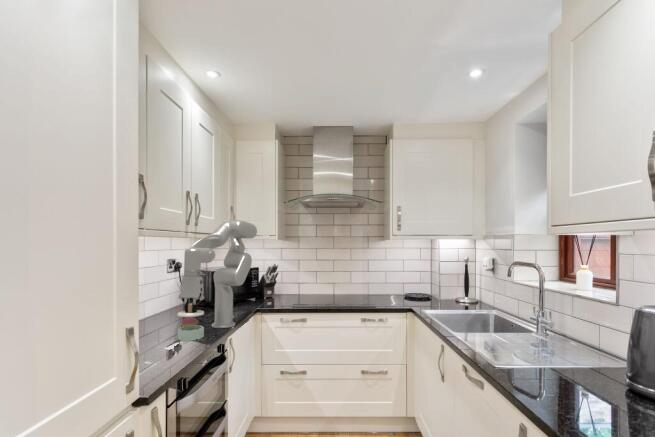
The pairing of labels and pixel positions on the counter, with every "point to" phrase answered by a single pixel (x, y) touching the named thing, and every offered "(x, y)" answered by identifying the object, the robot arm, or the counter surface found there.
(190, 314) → the lid
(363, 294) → the counter surface
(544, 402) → the counter surface
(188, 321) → the cupcake
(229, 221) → the robot arm
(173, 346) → the mat
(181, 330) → the bowl
